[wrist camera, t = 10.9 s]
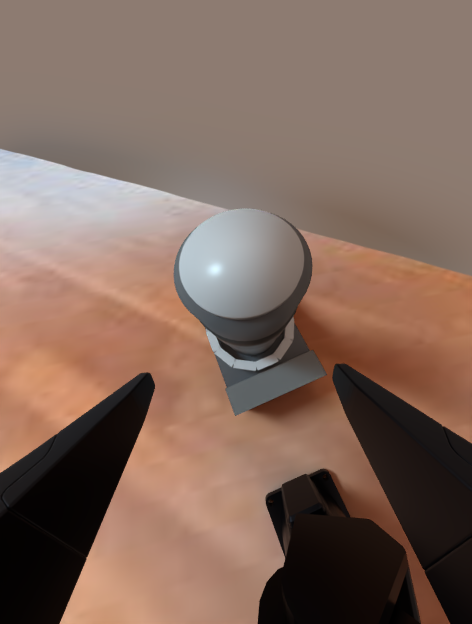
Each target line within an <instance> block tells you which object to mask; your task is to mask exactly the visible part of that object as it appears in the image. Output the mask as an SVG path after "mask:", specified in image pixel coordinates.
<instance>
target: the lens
mask: <svg viewBox="0 0 472 624" xmlns="http://www.w3.org/2000/svg"><path fill="white" fill-rule="evenodd" d="M311 276H312V257H311V253H310V250H309V247H308V245H307V242H306V241H305V239H304V237H303V236H302V235H301V233H300V232H299V231H298V230H297V229H296V228H295V227H294V226H293V225H292V224H291V223H289V222H288V221H286V220H285V219H283V218H281V217H279V216H277V215H275V214H272V213H269V212H266V211H262V210H257V209H235V210H229V211H225V212H222V213H219V214H217V215H215V216H213V217H211V218H209V219H207V220H206V221H204V222H203V223H202V224H200V225H199V226H198V227H196V228H195V229H194V230H193V231H192V232H191V233H190V234H189V236H188V237H187V238H186V239H185V241H184V242H183V244H182V245H181V247H180V249H179V251H178V254H177V257H176V260H175V265H174V283H175V287H176V291H177V293H178V295H179V298H180V299H181V301H182V303H183V304H184V306H185V307H186V308H187V309H188V310H189V312H191V313H192V314H193V315H194V316H195V317H196V318H197V319H199V320H200V322H201V323H202V324H203V325H204V327H205V328H206V329H207V330H209V331H210V332H211V333H212V334H213V335H215V336H216V337H217V338H218V339H220V340H221V341H222V342H224V343H225V344H227V345H229V346H230V347H232V348H233V349H234V350H235V351H237V352H238V353H240V354H243V355H249V356H253V355H258V354H261V353H263V352H265V351H266V350H268V349H269V348H270V347H271V346H272V344H273V343H274V341H275V340H276V338H278V337H279V336H280V334H281V333H282V332H283V330H284V329H285V328H286V326H287V325H288V323H289V322H290V320H291V319H292V317H293V316H294V314H295V312H296V309H297V307H298V304H299V303H300V301H301V300H302V298H303V296H304V295H305V293H306V291H307V289H308V286H309V284H310V280H311Z"/></svg>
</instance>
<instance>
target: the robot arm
mask: <svg viewBox="0 0 472 624" xmlns="http://www.w3.org/2000/svg"><path fill="white" fill-rule="evenodd" d="M332 379H333V383H334V385H335V388H336V391H337V393H338V396H339V398H340V401H341V404H342V406H343V409H344V411H345V414H346V416H347V418H348V420H349V422H350V424H351V426H352V428H353V430H354V432H355V434H356V436H357V438H358V440H359V442H360V444H361V446H362V448H363V450H364V452H365V454H366V456H367V458H368V460H369V462H370V464H371V466H372V468H373V470H374V472H375V474H376V476H377V478H378V480H379V482H380V484H381V486H382V488H383V490H384V492H385V494H386V496H387V498H388V500H389V502H390V504H391V506H392V508H393V510H394V512H395V514H396V516H397V518H398V520H399V522H400V524H401V526H402V528H403V530H404V532H405V534H406V536H407V538H408V540H409V542H410V544H411V546H412V548H413V550H414V552H415V554H416V556H417V558H418V560H419V562H420V564H421V566H422V568H423V569H424V570H425V574H426V576H427V578H428V580H429V582H430V584H431V586H432V588H433V590H434V592H435V594H436V596H437V598H438V600H439V602H440V604H441V606H442V608H443V610H444V612H445V614H446V616H447V618H448V620H449V622H450V624H472V443H470V442H468V441H467V440H465V439H463V438H462V437H460V436H459V435H457V434H455V433H454V432H452V431H451V430H449V429H448V428H446V427H442V425H441V424H440V423H438V422H436V421H435V420H433V419H432V418H430V417H429V416H427V415H425V414H424V413H422V412H421V411H419V410H418V409H416V408H414V407H413V406H411V405H410V404H408V403H407V402H405V401H403V400H402V399H400V398H399V397H397V396H396V395H394V394H392V393H391V392H389V391H388V390H386V389H385V388H383V387H381V386H380V385H378V384H377V383H375V382H374V381H372V380H370V379H369V378H367V377H366V376H364V375H362V374H361V373H359V372H358V371H356V370H355V369H353V368H351V367H350V366H348V365H347V364H344V363H342V364H335V366H334V371H333V377H332ZM154 389H155V383H154V381H153V378H152V376H151V374H150V373H140V374H139V375H137V376H136V377H135V378H133V379H132V380H131V381H129V382H128V383H126V384H125V385H124V386H122V387H121V388H119V389H118V390H117V391H115V392H114V393H113V394H111V395H110V396H108V397H107V398H106V399H104V400H103V401H101V402H100V403H99V404H97V405H96V406H95V407H93V408H92V409H90V410H89V411H88V412H86V413H85V414H84V415H82V416H81V417H79V418H78V419H77V420H75V421H74V422H72V423H71V424H70V425H68V426H67V427H66V428H64V429H63V430H61V431H60V432H59V433H58V434H56V435H54V436H53V437H52V438H50V439H49V440H48V441H46V442H45V443H43V444H42V445H41V446H39V447H38V448H36V449H35V450H33V451H32V452H31V453H29V454H28V455H26V456H25V457H23V458H22V459H20V460H19V461H17V462H16V463H15V464H13V465H12V466H10V467H9V468H7V469H6V470H4V471H3V472H1V473H0V624H59V623H60V621H61V619H62V616H63V614H64V612H65V609H66V607H67V604H68V602H69V600H70V597H71V595H72V593H73V590H74V588H75V585H76V583H77V581H78V578H79V576H80V574H81V571H82V569H83V566H84V564H85V562H86V558H87V556H88V554H89V552H90V549H91V547H92V545H93V542H94V540H95V537H96V535H97V533H98V530H99V528H100V526H101V523H102V521H103V518H104V516H105V514H106V511H107V509H108V507H109V504H110V502H111V499H112V497H113V495H114V492H115V490H116V487H117V485H118V483H119V480H120V478H121V476H122V473H123V471H124V468H125V466H126V464H127V461H128V459H129V457H130V454H131V452H132V449H133V447H134V445H135V442H136V440H137V438H138V435H139V433H140V430H141V428H142V426H143V423H144V421H145V418H146V415H147V412H148V409H149V405H150V402H151V399H152V396H153V393H154ZM324 474H326V475H327V477H326V478H323V475H324ZM270 499H272V500H273V503H270V502H269V500H270ZM266 506H267V508H268V511H269V514H270V517H271V519H272V522H273V525H274V528H275V531H276V533H277V536H278V539H279V542H280V544H281V547H282V550H283V553H284V556H285V563H284V567H282V568H280V569H278V570H277V571H276V572H275V573H274V574H273V576H272V577H271V578H270V579H269V580H268V581H267V583H266V586H265V588H264V591H263V593H262V596H261V599H260V603H259V615H258V624H421V621H420V616H419V611H418V607H417V602H416V597H415V593H414V588H413V583H412V579H411V574H410V569H409V565H408V560H407V555H406V551H405V549H404V547H403V546H402V545H400V544H399V543H398V542H397V541H396V540H394V539H393V538H392V537H391V536H390V535H389V534H387V533H386V532H385V531H384V530H383V529H381V528H380V527H379V526H378V525H377V524H375V523H374V522H373V521H371V520H369V519H362V518H351V517H350V515H349V513H348V511H347V509H346V507H345V505H344V503H343V501H342V498H341V496H340V494H339V492H338V490H337V488H336V486H335V484H334V482H333V480H332V478H331V475H330V474H329V472H328V471H327V470H326V469H320V470H318V471H316V472H314V473H312V474H309V475H307V474H304V475H301V476H299V477H297V478H295V479H293V480H291V481H288V482H286V483H284V484H282V487H281V488H279V489H277V490H275V491H273V492H270V493H268V494H267V495H266Z"/></svg>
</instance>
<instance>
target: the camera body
mask: <svg viewBox="0 0 472 624" xmlns="http://www.w3.org/2000/svg"><path fill="white" fill-rule="evenodd" d="M293 317H294V316H293ZM293 317H292V319H291V320H290V322H289V323H288V325H287V326H286V328H285V329H284V330H283V332H282V333H281V334H280V336H279V337H278V338H276V340H275V341H274V343H273V344H272V346H271V347H270V348H269V349H268V350H266V351H265V352H263V353H261V354H258V355H253V356H249V355H243V354H240V353H238V352H237V351H235V350H234V349H233V348H232V347H230V346H229V345H227V344H225V343H224V342H222V341H221V340H220V339H218V338H217V337H216V336H215V335H213V334H212V333H211V332H210V331H209V330H207V329H206V328H205V329H206V334H207V336H208V339H209V342H210V345H211V347H212V350H213V352H214V354H215V356H216V359H217V362H218V364H219V367H220V370H221V373H222V375H223V378H224V381H225V384H226V386H227V388H226V392H227V395H228V397H229V400H230V403H231V406H232V409H233V411H234V414H235V416H236V415H238V414H241V413H243V412H245V411H247V410H249V409H252V408H254V407H256V406H258V405H261V404H263V403H265V402H267V401H270V400H272V399H274V398H276V397H278V396H281V395H283V394H285V393H287V392H290V391H292V390H294V389H296V388H299V387H301V386H303V385H305V384H307V383H310V382H312V381H314V380H316V379H319V378H321V377H323V376H325V375H327V374H326V372H325V370H324V369H323V367H322V365H321V363H320V361H319V360H318V358H317V356H316V354H315V352H314V351H313V350H311V351H310V350H309V348H308V346H307V345H306V343H305V341H304V339H303V337H302V336H301V334H300V332H299V330H298V328H297V326H296V325H295V323H294V318H293Z"/></svg>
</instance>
